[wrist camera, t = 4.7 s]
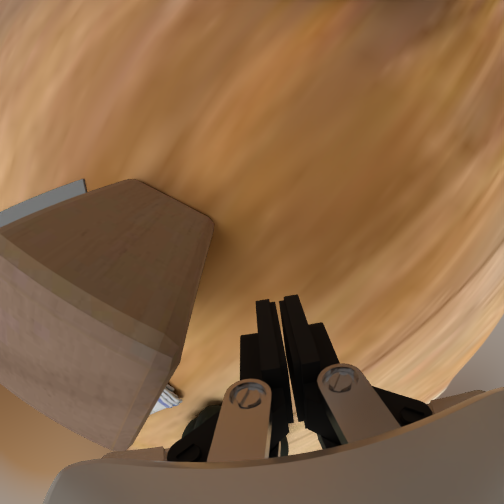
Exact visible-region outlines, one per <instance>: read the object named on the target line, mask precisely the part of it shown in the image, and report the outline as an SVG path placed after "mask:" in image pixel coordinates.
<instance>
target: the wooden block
mask: <svg viewBox="0 0 504 504" xmlns="http://www.w3.org/2000/svg"><path fill="white" fill-rule="evenodd" d="M213 231H214V223H213V222H212V220H211V219H210V218H209V217H207V216H205V215H203V214H201V213H200V212H198V211H196V210H194V209H192V208H190V207H188V206H186V205H184V204H182V203H180V202H178V201H177V200H175V199H173V198H171V197H169V196H167V195H165V194H163V193H161V192H159V191H157V190H155V189H153V188H152V187H150V186H148V185H146V184H144V183H142V182H140V181H138V180H136V179H127V180H124V181H120V182H117V183H114V184H111V185H108V186H105V187H102V188H99V189H96V190H93V191H90V192H87V193H84V194H81V195H78V196H75V197H73V198H70V199H67V200H64V201H62V202H59V203H57V204H54V205H51V206H49V207H46V208H44V209H41V210H39V211H37V212H34V213H32V214H29V215H27V216H25V217H22V218H20V219H18V220H16V221H13V222H11V223H9V224H7V225H5V226H3V227H0V383H1V384H2V385H3V386H4V387H5V388H7V389H8V390H9V391H11V392H12V393H13V394H15V395H16V396H17V397H19V398H20V399H22V400H23V401H25V402H26V403H27V404H29V405H30V406H32V407H33V408H35V409H36V410H38V411H39V412H41V413H42V414H44V415H46V416H47V417H49V418H50V419H52V420H54V421H55V422H57V423H59V424H61V425H62V426H64V427H66V428H68V429H69V430H71V431H73V432H75V433H77V434H79V435H81V436H83V437H85V438H87V439H89V440H91V441H93V442H95V443H97V444H99V445H101V446H103V447H106V448H108V449H110V450H113V451H126V450H127V449H128V448H129V447H130V446H131V445H132V444H133V443H134V441H135V439H136V437H137V436H138V434H139V432H140V430H141V429H142V427H143V425H144V423H145V422H146V420H147V418H148V416H149V415H150V413H151V411H152V410H153V408H154V406H155V404H156V403H157V401H158V399H159V397H160V396H161V394H162V392H163V391H164V389H165V387H166V385H167V384H168V382H169V380H170V379H171V377H172V375H173V373H174V372H175V370H176V368H177V367H178V365H179V363H180V360H181V355H182V351H183V347H184V343H185V338H186V334H187V330H188V326H189V322H190V318H191V314H192V310H193V306H194V302H195V298H196V294H197V290H198V286H199V282H200V279H201V275H202V271H203V267H204V264H205V260H206V256H207V253H208V249H209V246H210V242H211V238H212V235H213Z"/></svg>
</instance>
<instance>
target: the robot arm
mask: <svg viewBox="0 0 504 504" xmlns="http://www.w3.org/2000/svg"><path fill="white" fill-rule="evenodd" d="M279 304H280V312H281V319H282V327H283V335H284V343H285V351H286V356H285V351H284V346H283V340H282V335H281V330H280V325H279V320H278V315H277V309H276V304H275V302H269V299H266V300H260V301H256V313H257V326H258V333H255V334H248V335H241V337H240V381H238V382H236V383H234V384H232V385H231V386H230V387H229V388H228V389H227V391H226V393H225V395H224V399H223V402H222V406H221V410H219V411H218V412H217V413H216V414H214V415H213V416H212V417H210V418H209V419H208V420H206V421H205V422H204V423H202V424H201V425H200V426H198V427H197V428H196V429H194V430H193V431H191V432H190V433H189V434H187V435H186V436H184V437H183V438H182V439H180V440H179V441H177V442H176V443H175V444H174V445H172V446H171V448H168V449H164V448H163V446H162V447H155V448H147V449H138V450H128V451H115V452H111V453H108V454H106V455H104V456H103V457H102V458H101V459H93V460H88V461H81V462H78V463H74V464H71V465H69V466H67V467H65V468H64V469H63V470H62V471H60V472H59V474H58V475H57V476H56V478H55V479H54V481H53V483H52V485H51V486H50V488H49V490H48V492H47V495H46V497H45V499H44V502H43V504H504V387H500V388H497V389H493V390H490V391H487V392H486V391H482V390H474V391H470V392H466V393H462V394H459V395H454V396H449V397H445V398H440V399H435V400H431V402H430V403H429V404H425V403H423V402H421V401H419V400H415V399H412V398H409V397H405V396H402V395H399V394H395V393H392V392H389V391H386V390H383V389H380V388H377V387H374V386H371V384H370V383H369V381H368V380H367V379H366V377H365V376H364V375H363V373H362V372H361V371H360V370H359V369H358V368H357V367H355V366H353V365H350V364H345V363H344V364H340V363H339V360H338V358H337V355H336V353H335V351H334V348H333V346H332V343H331V341H330V339H329V336H328V334H327V331H326V329H325V327H324V324H323V323H322V322H321V323H316V324H310V325H308V323H307V320H306V317H305V314H304V311H303V308H302V305H301V303H300V300H299V297H298V295H291V296H285V297H284V300H283V301H279ZM286 358H287V361H286ZM287 364H288V368H287ZM288 369H289V374H290V379H291V385H292V390H293V395H294V401H295V406H296V411H297V417H298V422H301V421H304V423H305V428H308V429H309V430H311V431H313V432H315V433H317V436H318V440H319V442H320V444H321V446H322V449H323V450H318V451H313V452H307V453H302V454H296V455H289V456H282V457H280V451H281V442H280V441H281V440H282V439H283V438H284V437H285V436H286V435H287V434H288V433H289V427H288V423H294V420H293V411H292V401H291V392H290V384H289V375H288Z"/></svg>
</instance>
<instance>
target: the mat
mask: <svg viewBox="0 0 504 504" xmlns="http://www.w3.org/2000/svg"><path fill="white" fill-rule="evenodd" d="M84 193H87V190H86V185H85V180H84V179H81V180H78V181H75V182H73V183H70V184H67V185H64V186H61V187H59V188H56V189H53V190H51V191H48V192H46V193H43V194H41V195H38V196H36V197H33V198H31V199H29V200H26V201H24V202H22V203H19V204H17V205H15V206H12V207H10V208H8V209H6V210H4V211H2V212H0V227H3V226H5V225H7V224H9V223H11V222H13V221H16V220H18V219H20V218H22V217H25V216H27V215H29V214H32V213H34V212H37V211H39V210H41V209H44V208H46V207H49V206H51V205H54V204H57V203H59V202H62V201H64V200H67V199H70V198H73V197H75V196H78V195H81V194H84Z"/></svg>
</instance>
